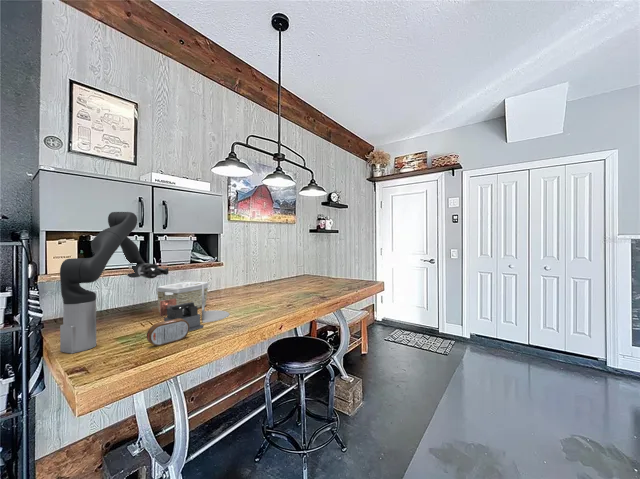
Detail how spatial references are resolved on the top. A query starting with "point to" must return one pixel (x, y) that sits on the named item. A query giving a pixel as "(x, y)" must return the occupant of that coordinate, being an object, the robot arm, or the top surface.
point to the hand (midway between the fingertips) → (162, 272)
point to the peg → (167, 304)
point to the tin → (167, 332)
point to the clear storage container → (183, 293)
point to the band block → (190, 315)
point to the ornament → (211, 312)
